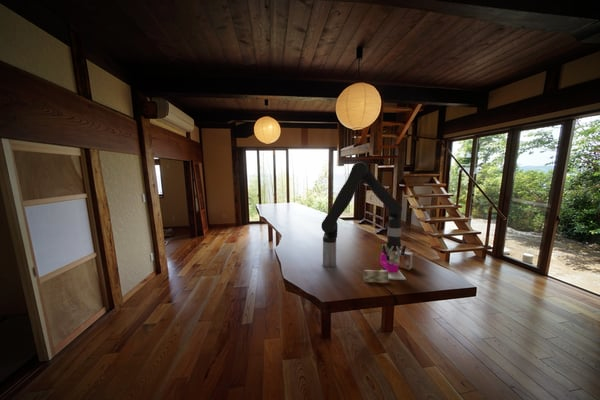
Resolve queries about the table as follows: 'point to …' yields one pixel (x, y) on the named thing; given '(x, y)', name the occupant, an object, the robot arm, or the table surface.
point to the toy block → (388, 264)
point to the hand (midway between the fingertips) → (393, 260)
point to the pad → (395, 275)
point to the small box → (406, 260)
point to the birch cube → (394, 258)
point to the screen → (376, 276)
